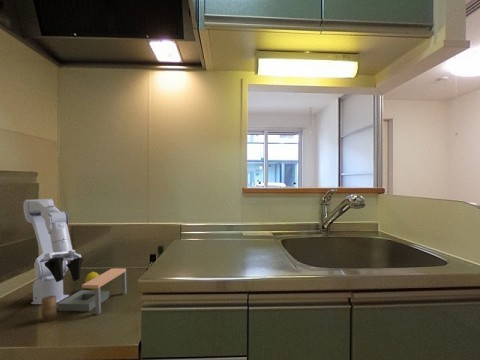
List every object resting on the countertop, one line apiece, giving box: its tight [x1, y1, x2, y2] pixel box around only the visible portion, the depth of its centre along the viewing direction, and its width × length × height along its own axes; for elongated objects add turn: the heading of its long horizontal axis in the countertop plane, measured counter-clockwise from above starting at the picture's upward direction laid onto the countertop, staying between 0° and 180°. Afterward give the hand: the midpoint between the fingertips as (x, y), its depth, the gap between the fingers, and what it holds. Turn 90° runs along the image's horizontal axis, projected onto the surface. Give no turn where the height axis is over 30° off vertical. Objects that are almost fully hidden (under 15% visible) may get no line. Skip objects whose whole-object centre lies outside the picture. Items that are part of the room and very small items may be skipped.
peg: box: [41, 296, 58, 323], centre depth 93 cm, size 4×4×7 cm
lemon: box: [84, 271, 100, 290], centre depth 117 cm, size 6×6×8 cm
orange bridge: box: [81, 267, 128, 315], centre depth 104 cm, size 6×18×10 cm, turn 173°
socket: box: [57, 289, 110, 312], centre depth 104 cm, size 12×12×2 cm
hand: (68, 280), depth 95 cm, fingers open, 7 cm apart
